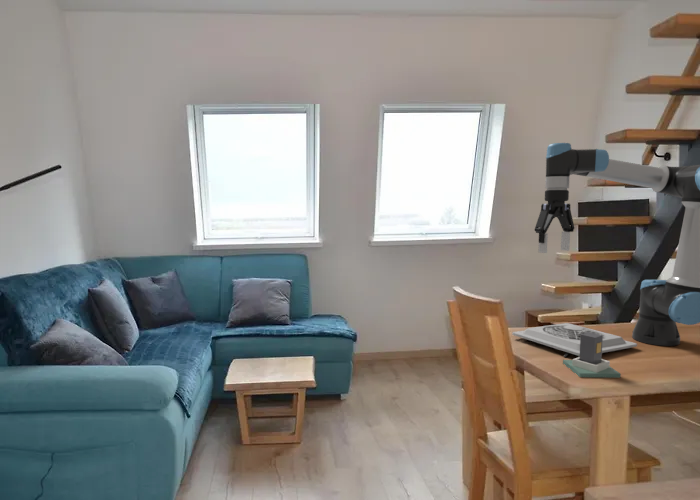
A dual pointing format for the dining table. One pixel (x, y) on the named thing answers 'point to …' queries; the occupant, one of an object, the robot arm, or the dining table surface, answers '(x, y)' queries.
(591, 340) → the plug
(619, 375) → the header board
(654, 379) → the dining table surface
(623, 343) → the ventilation fan
